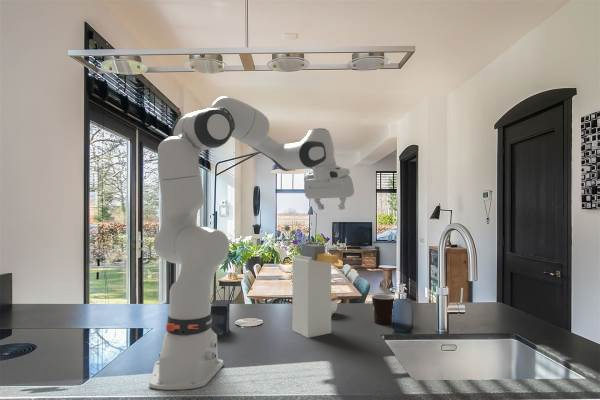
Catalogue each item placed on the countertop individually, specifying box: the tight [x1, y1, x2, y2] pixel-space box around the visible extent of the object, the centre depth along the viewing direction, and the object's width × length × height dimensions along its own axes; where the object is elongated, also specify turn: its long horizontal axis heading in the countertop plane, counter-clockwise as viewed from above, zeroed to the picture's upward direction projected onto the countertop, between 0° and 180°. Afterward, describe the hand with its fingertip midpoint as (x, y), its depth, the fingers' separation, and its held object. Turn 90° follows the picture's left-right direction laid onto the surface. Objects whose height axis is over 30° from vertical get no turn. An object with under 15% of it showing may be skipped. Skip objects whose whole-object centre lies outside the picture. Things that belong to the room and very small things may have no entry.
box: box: [210, 300, 231, 337], centre depth 143 cm, size 8×6×11 cm
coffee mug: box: [371, 294, 395, 326], centre depth 158 cm, size 12×9×10 cm
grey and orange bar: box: [301, 243, 339, 265], centre depth 141 cm, size 17×4×5 cm, turn 33°
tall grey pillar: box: [291, 254, 332, 339], centre depth 145 cm, size 10×10×27 cm
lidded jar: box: [331, 293, 339, 317], centre depth 169 cm, size 11×11×9 cm
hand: (331, 209), depth 149 cm, fingers open, 8 cm apart
